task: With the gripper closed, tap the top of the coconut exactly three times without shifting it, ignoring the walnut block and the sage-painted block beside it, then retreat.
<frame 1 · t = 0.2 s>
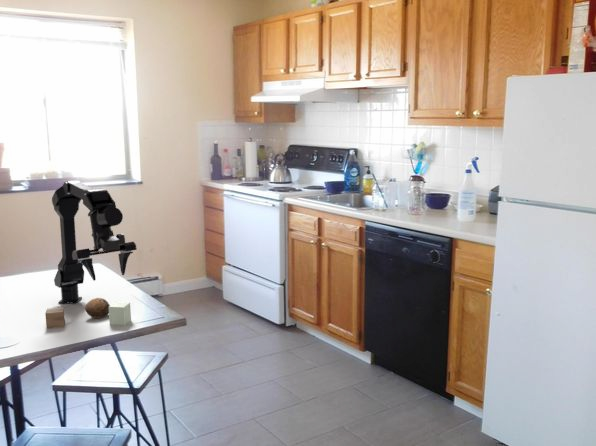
hand: (109, 277, 184), 15 cm above the table, fingers open, 9 cm apart
sage block: (120, 322, 187), on the table
walnut block: (55, 325, 185), on the table
coconut: (98, 317, 194), on the table
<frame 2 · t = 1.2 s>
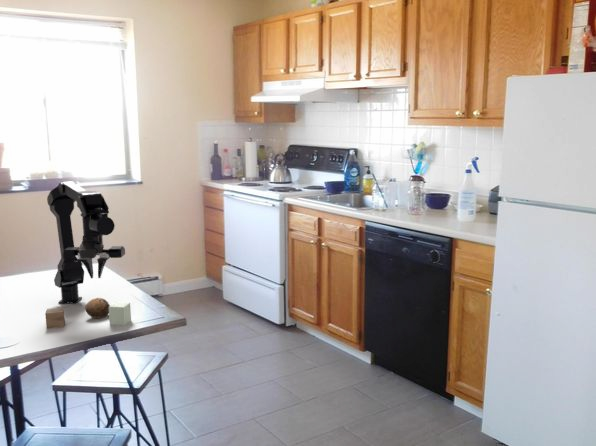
hand: (95, 278, 191), 13 cm above the table, fingers closed
nothing on the table moved.
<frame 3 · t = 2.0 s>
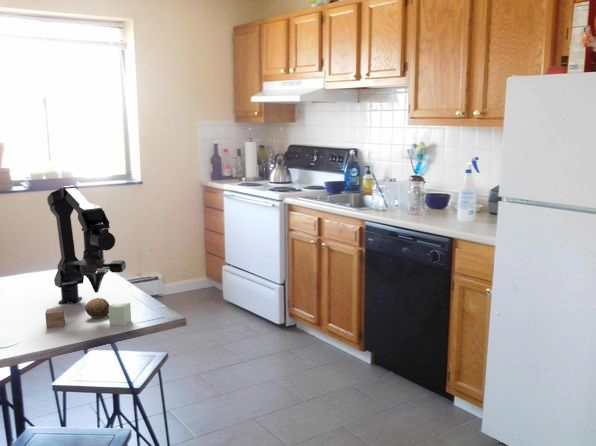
hand: (96, 292, 192), 8 cm above the table, fingers closed
nothing on the table moved.
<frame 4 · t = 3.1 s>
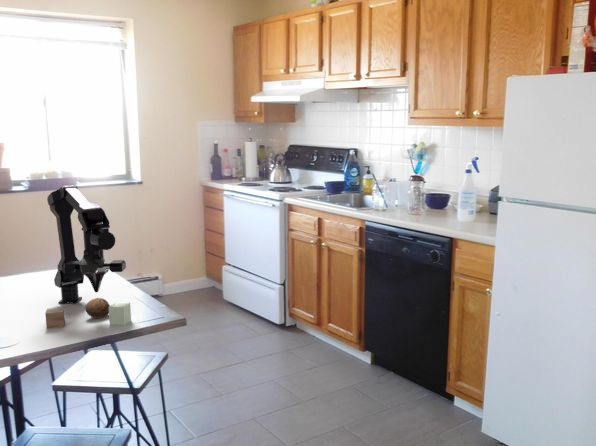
hand: (96, 291, 192), 8 cm above the table, fingers closed
nothing on the table moved.
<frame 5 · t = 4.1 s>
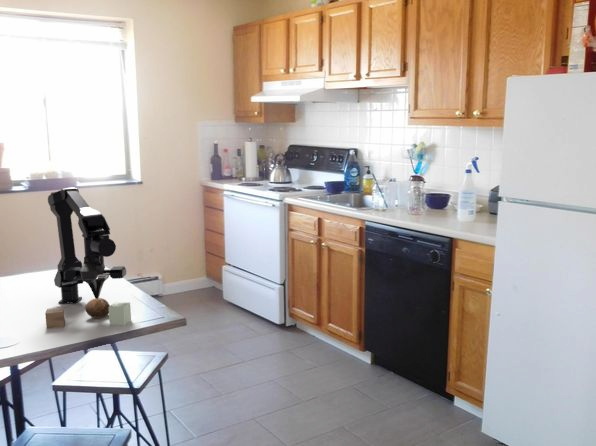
hand: (97, 298, 193), 6 cm above the table, fingers closed
nothing on the table moved.
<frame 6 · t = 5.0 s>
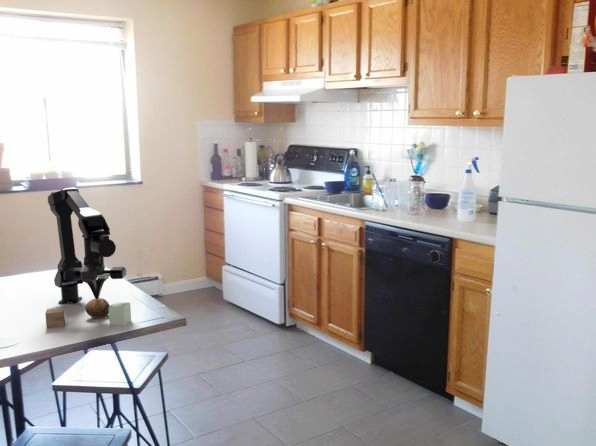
hand: (97, 298, 193), 6 cm above the table, fingers closed
nothing on the table moved.
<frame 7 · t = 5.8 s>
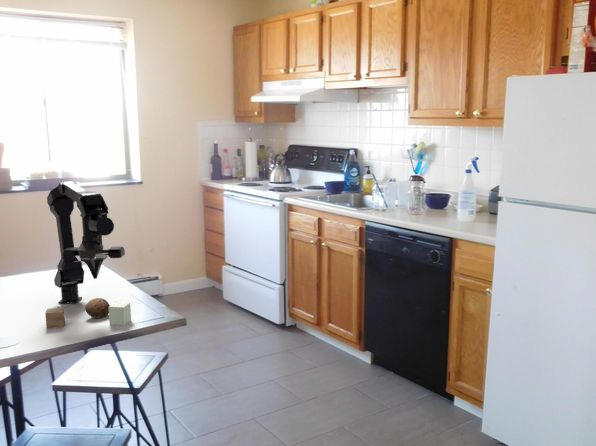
hand: (95, 278, 191), 13 cm above the table, fingers closed
nothing on the table moved.
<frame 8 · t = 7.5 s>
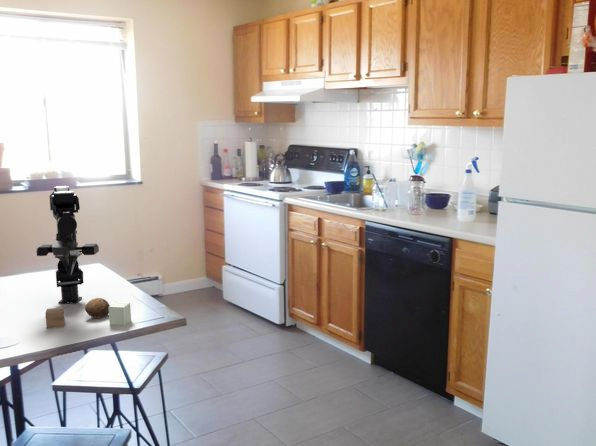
hand: (69, 274, 196), 13 cm above the table, fingers closed
nothing on the table moved.
at the end: coconut moved 0.3 cm from its start; coconut on the table; the gripper is holding nothing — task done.
